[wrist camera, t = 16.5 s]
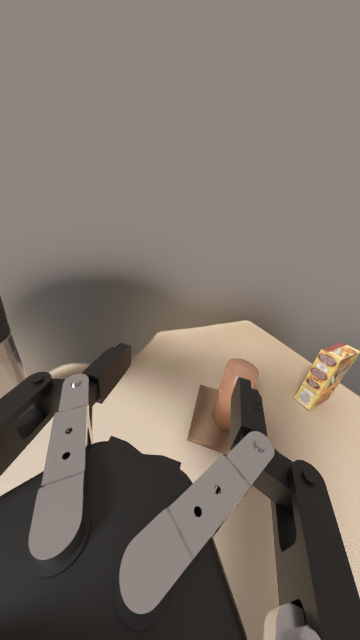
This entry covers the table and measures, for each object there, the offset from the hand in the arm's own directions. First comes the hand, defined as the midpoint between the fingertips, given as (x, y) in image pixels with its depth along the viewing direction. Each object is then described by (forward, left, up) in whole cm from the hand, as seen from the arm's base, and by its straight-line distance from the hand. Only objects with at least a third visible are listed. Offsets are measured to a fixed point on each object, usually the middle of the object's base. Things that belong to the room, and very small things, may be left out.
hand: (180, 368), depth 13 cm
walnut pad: (+8, +17, -26) cm, 32 cm away
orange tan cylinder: (+8, +17, -25) cm, 31 cm away
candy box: (+29, +31, -26) cm, 50 cm away
